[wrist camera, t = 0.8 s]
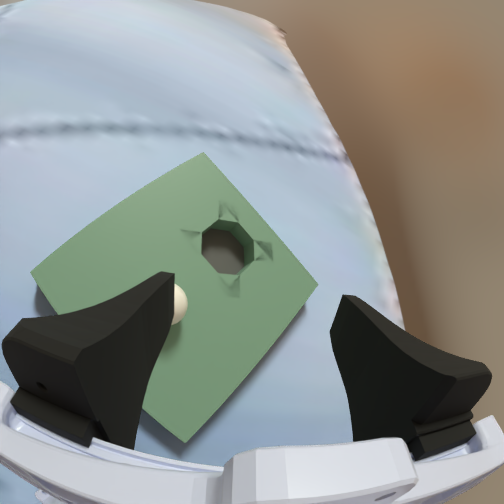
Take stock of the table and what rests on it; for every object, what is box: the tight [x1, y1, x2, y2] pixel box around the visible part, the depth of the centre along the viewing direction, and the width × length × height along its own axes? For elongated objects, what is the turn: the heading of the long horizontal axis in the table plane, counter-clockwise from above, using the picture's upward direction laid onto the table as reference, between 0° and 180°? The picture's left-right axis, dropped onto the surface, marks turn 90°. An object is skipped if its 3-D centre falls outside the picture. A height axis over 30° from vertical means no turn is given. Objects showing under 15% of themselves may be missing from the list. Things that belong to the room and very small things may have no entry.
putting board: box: [30, 152, 318, 443], centre depth 23 cm, size 20×18×2 cm
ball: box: [171, 284, 188, 325], centre depth 19 cm, size 3×3×3 cm
